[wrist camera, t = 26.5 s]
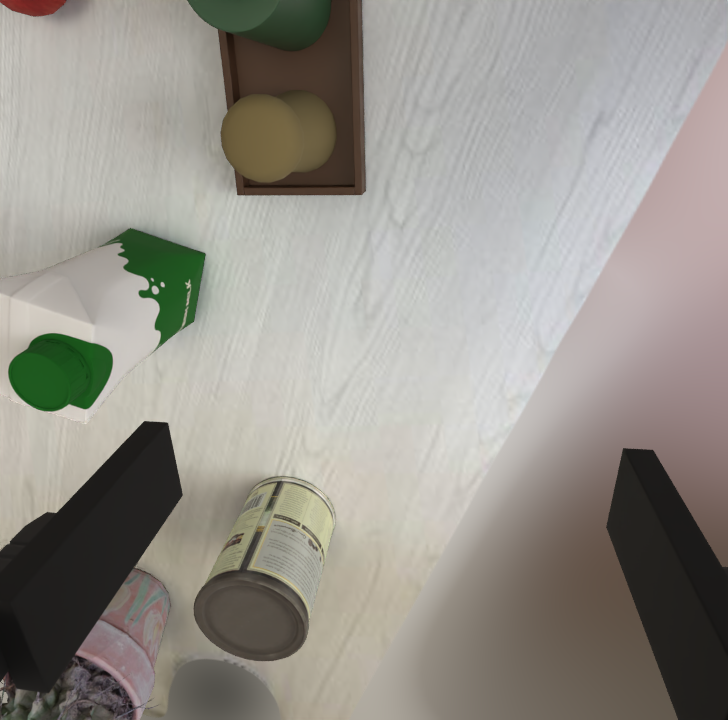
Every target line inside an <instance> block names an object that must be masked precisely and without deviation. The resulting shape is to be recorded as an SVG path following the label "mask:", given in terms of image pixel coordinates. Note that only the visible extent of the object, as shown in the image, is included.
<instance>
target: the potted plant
mask: <svg viewBox="0 0 728 720" xmlns="http://www.w3.org/2000/svg"><path fill="white" fill-rule="evenodd" d="M170 607H171V604H170V599H169V594H168V592H167V591H166V589H165V588H164V586H163V585H162V583H161V582H160V581H158V580H157V579H155V578H154V577H153V576H151V575H150V574H148V573H145V572H143V571H141V570H137V569H134V568H133V570H132V571H131V572H130V574H129V575H128V577H127V578H126V580H125V581H124V583H123V584H122V586H121V587H120V589H119V590H118V592H117V593H116V595H115V596H114V598H113V599H112V601H111V602H110V604H109V605H108V606H107V608H106V609H105V611H104V612H103V614H102V615H101V617H100V618H99V620H98V621H97V623H96V624H95V626H94V627H93V629H92V630H91V632H90V633H89V635H88V636H87V638H86V639H85V640H84V642H83V643H82V645H81V646H80V648H79V649H78V651H77V652H76V654H75V655H74V657H73V658H72V660H71V661H70V663H69V664H68V666H67V667H66V669H65V670H64V672H63V673H62V674H61V676H60V677H59V679H58V680H57V682H56V683H55V685H54V686H53V688H52V689H51V691H50V692H49V693H43V692H35V691H28V690H20V689H17V688H16V686H15V684H14V682H13V680H12V677H11V675H10V673H9V671H8V673H7V674H6V675H5V677H4V678H3V680H4V682H5V683H4V687H3V688H1V689H0V691H2V690H3V694H2V699H1V720H139V719H140V717H141V715H142V713H143V711H144V708H145V706H146V704H147V701H148V699H149V697H150V694H151V692H152V690H153V687H154V680H155V672H154V666H155V662H156V658H157V654H158V651H159V647H160V643H161V640H162V636H163V632H164V629H165V625H166V621H167V618H168V614H169V610H170ZM5 684H6V685H5ZM4 692H6V693H7V694H8V700H7V701H8V703H2V700H3V695H4ZM153 699H154V698H153ZM148 702H149V701H148ZM159 705H160V704H159ZM157 706H158V705H157ZM154 707H155V706H154ZM151 708H153V707H151ZM145 709H150V708H145Z"/></svg>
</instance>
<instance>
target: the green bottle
mask: <svg viewBox="0 0 728 720" xmlns="http://www.w3.org/2000/svg"><path fill="white" fill-rule="evenodd" d="M187 1H188V3H189V4H190V5H191V7H192V8H193V10H194V11H195V12H196V13H197V14H198V16H200V17H201V18H202V19H203V20H204V21H205V22H207V23H208V24H210V25H211V26H213V27H215V28H217V29H219V30H222V31H225V32H228V33H231V34H235V35H238V36H241V37H244V38H247V39H250V40H253V41H256V42H259V43H263V44H266V45H269V46H272V47H275V48H278V49H281V50H285V51H299V50H302V49H305V48H307V47H309V46H311V45H312V44H314V43H315V42H316V41H317V40H318V39H319V38H320V36H321V35H322V34H323V32H324V30H325V28H326V26H327V24H328V21H329V17H330V12H331V0H187Z"/></svg>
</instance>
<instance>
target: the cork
mask: <svg viewBox="0 0 728 720" xmlns="http://www.w3.org/2000/svg"><path fill="white" fill-rule="evenodd" d="M336 140H337V128H336V123H335V120H334V117H333V113H332V112H331V110H330V109H329V107H328V106H327V104H326V103H325V102H324V101H323V100H322V99H320V98H319V97H318V96H317V95H315V94H313V93H310V92H307V91H305V90H290V91H287V92H284V93H282V94H279V95H278V96H276V97H273V96H271V95H268V94H251V95H249V96H246V97H243V98H241V99H239V100H238V101H237V102H236V103H235V104H234V105H233V106H232V107H230V109H229V110H228V112H227V114H226V116H225V117H224V119H223V123H222V128H221V142H222V148H223V150H224V153H225V156H226V158H227V160H228V161H229V163H230V164H231V165H232V167H233V168H234V169H235V170H236V171H237V172H239V173H240V174H241V175H243V176H244V177H246V178H248V179H251V180H254V181H256V182H265V183H271V182H274V181H277V180H280V179H283V178H285V177H286V176H287V175H289V174H290V173H291V172H301V173H307V172H310V171H313V170H316V169H318V168H319V167H321V166H322V165H323V164H324V163H326V162H327V160H328V159H329V157H330V156H331V154H332V153H333V151H334V147H335V144H336Z"/></svg>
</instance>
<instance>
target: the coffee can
mask: <svg viewBox="0 0 728 720" xmlns="http://www.w3.org/2000/svg"><path fill="white" fill-rule="evenodd" d="M334 527H335V513H334V509H333V506H332V504H331V503H330V501H329V500H328V498H327V497H326V496H325V495H324V494H323V493H322V492H321V491H320V490H319V489H317V488H316V487H314V486H313V485H311V484H309V483H307V482H305V481H301V480H298V479H295V478H290V477H276V478H270V479H268V480H265V481H263V482H261V483H259V484H258V485H257V486H255V487H254V488H253V489H252V490H251V492H250V493H249V495H248V497H247V500H246V503H245V505H244V507H243V509H242V511H241V513H240V515H239V517H238V519H237V521H236V523H235V525H234V527H233V529H232V531H231V533H230V535H229V537H228V539H227V541H226V543H225V545H224V547H223V549H222V551H221V553H220V555H219V557H218V559H217V561H216V563H215V565H214V567H213V569H212V571H211V573H210V575H209V577H208V579H207V581H206V583H205V585H204V586H203V587H202V588H201V590H200V591H199V593H198V595H197V597H196V599H195V603H194V616H195V620H196V622H197V624H198V626H199V628H200V629H201V631H202V632H203V633H204V635H205V636H206V637H207V638H208V639H209V640H210V641H211V642H212V643H214V644H215V645H216V646H218V647H219V648H221V649H223V650H224V651H226V652H228V653H230V654H233V655H235V656H238V657H241V658H244V659H249V660H254V661H274V660H279V659H283V658H286V657H289V656H291V655H292V654H294V653H295V652H297V651H298V650H299V649H300V648H301V647H302V645H303V644H304V642H305V640H306V637H307V634H308V628H309V620H310V616H311V612H312V609H313V605H314V601H315V597H316V593H317V590H318V586H319V582H320V578H321V574H322V570H323V566H324V562H325V559H326V555H327V551H328V547H329V543H330V539H331V535H332V532H333V530H334Z"/></svg>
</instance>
